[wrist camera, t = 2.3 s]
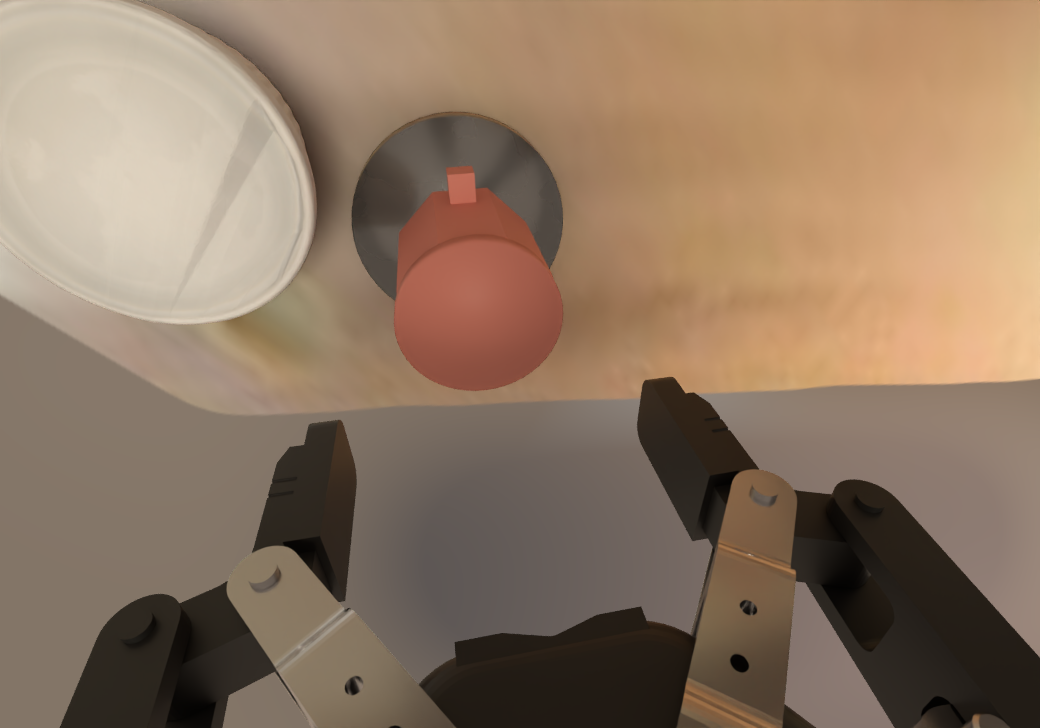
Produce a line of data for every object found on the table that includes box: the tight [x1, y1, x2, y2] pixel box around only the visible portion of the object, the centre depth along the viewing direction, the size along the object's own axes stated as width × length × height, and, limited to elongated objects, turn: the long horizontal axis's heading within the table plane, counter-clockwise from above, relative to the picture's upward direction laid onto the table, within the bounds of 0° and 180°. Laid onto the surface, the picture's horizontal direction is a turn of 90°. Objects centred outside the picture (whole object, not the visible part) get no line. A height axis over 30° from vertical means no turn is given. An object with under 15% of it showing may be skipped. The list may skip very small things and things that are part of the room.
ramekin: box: [0, 0, 317, 325], centre depth 20 cm, size 11×11×5 cm
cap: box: [394, 166, 563, 391], centre depth 21 cm, size 8×6×6 cm
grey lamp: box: [352, 112, 563, 300], centre depth 22 cm, size 10×10×9 cm
